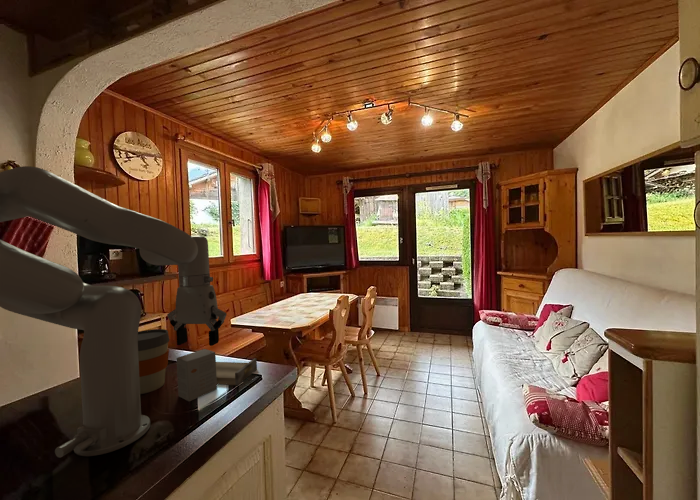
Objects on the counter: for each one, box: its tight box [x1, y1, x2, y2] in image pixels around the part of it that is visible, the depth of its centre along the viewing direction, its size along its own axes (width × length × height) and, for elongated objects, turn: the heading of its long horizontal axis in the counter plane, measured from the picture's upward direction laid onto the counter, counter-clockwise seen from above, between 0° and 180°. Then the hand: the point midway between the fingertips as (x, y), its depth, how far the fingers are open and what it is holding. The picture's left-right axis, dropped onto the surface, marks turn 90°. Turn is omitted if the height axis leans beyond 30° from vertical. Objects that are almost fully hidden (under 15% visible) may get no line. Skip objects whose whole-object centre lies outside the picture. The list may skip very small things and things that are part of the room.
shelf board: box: [216, 358, 258, 386], centre depth 91 cm, size 11×17×4 cm, turn 80°
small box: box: [176, 348, 218, 402], centre depth 81 cm, size 8×6×10 cm
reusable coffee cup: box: [138, 328, 170, 395], centre depth 86 cm, size 13×13×15 cm
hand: (198, 343), depth 82 cm, fingers open, 9 cm apart
